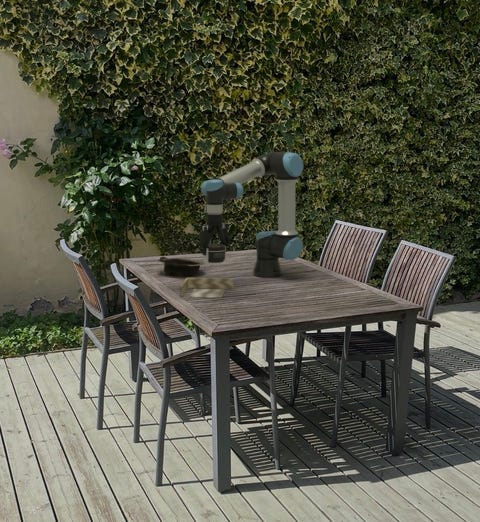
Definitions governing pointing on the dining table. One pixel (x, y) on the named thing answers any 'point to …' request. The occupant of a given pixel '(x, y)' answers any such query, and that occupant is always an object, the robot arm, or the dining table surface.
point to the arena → (206, 287)
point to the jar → (216, 253)
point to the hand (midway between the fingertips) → (214, 260)
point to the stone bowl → (180, 266)
